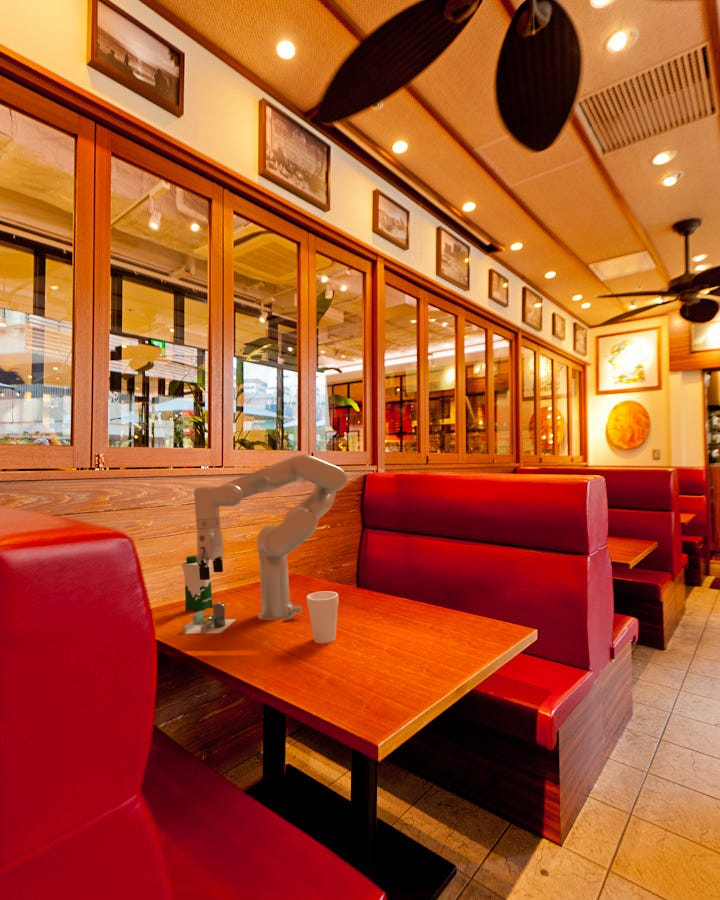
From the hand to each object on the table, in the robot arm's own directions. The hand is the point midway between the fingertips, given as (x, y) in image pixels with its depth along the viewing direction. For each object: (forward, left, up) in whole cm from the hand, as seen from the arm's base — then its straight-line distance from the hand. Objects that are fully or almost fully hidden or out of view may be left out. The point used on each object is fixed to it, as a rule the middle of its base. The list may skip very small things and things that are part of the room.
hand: (211, 575), depth 163 cm
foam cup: (-39, +11, -18) cm, 44 cm away
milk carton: (+14, -19, -18) cm, 30 cm away
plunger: (+4, -3, -15) cm, 16 cm away
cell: (-2, +1, -16) cm, 16 cm away
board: (+1, +1, -17) cm, 17 cm away
